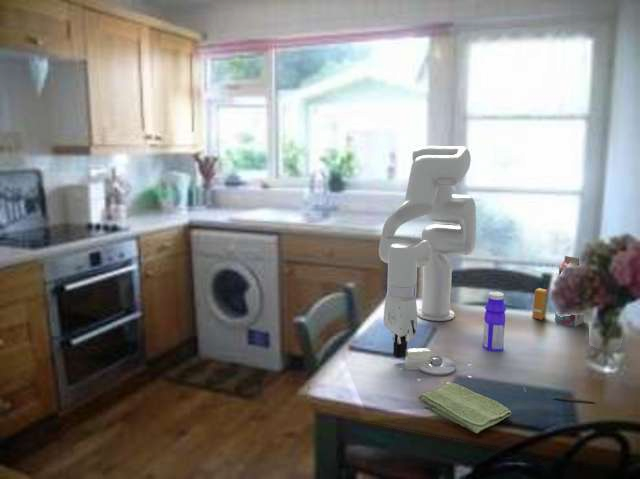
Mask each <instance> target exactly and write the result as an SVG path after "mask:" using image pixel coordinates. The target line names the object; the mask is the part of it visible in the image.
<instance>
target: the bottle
mask: <svg viewBox="0 0 640 479" xmlns="http://www.w3.org/2000/svg"><path fill="white" fill-rule="evenodd" d="M504 296H505V294H504V293H503V292H500V291H490V292H489V293H488V300H487V302H486V304H485V306H484V309H485V312H484V316H483V317H484V325H483V326H484V327H483V338H482V339H483V342H482V347H483V349H485V350H486V351H489V352H498V353H499V352H502V351H504V348H505V347H504V343H505V342H504V341H505V340H504V339H505V324H506V313H505V312H506V311H507V308H506V306H505V300H504V298H505V297H504Z"/></svg>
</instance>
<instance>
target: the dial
mask: <svg viewBox="0 0 640 479" xmlns="http://www.w3.org/2000/svg"><path fill="white" fill-rule="evenodd" d="M404 359H405V360H404V368H405V370H406V371H416V370H417V371H418V370H419V371H420V372H422V373H424V374H426V375H432V376H447V375H451V374H453V373H454V372H455V370H456V363H455V362H454V361H453V360H452V359H450V358H447V357H445V356H441V355H431V350H430V349H429V348H428V347H424V348H422V347H421V348H407V349H406V350H405V357H404Z"/></svg>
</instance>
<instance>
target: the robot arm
mask: <svg viewBox="0 0 640 479" xmlns="http://www.w3.org/2000/svg"><path fill="white" fill-rule="evenodd" d="M471 158H472V157H471V153H470V151H469V149H468V148H467V147H465V146H452V145H451V146H447V145H446V146H445V145H444V146H442V145H440V146H439V145H425V146H419V147H416V148H415V149H414V150H413V152H412V157H411V159H412V164H411V168H410V173H409V177H408V182H407V187H406V193H405V197H404V198H405V199H404V201H403V203H402V204H401V205H399V206H398V207H397V208H396V209H395V210H393V211H392V212H391V214H389V216H388V217H387V219H386V220H385V222H384V224H383V227H382V231H381V236H380V240H379V246H378V255H379V258H380V260H381V261H382V262H384V263H385V264H387V292H386V295H385V299H384V300H385V301H384V307H383V326H384V327H385V328H386V329H387V330H389V331H390V332H391V334H392V341H393V352H392V353H393V354H392V355H393V356H394V357H395V358H396V359H398V358H405V350H406V349H408V343H409V342H412V341H414V335H416V334H417V330H418V317H420V318H421V319H423V320H427V321H433V322H446V321H450V320H453V319H455V312H454V311H453V310H452V309H451V295H452V291H451V290H452V276H453V275H452V274H453V267H452V263H451V261H450V259H449V258H448V257H447V255H453V256H454V255H455V256H469V255H471V254H472V253H473V252H474V250H475V247H476V228H477V227H476V225H477V224H476V223H477V220H476V219H477V218H476V217H477V209H476V208H477V207H476V202H475V200H474V198H473V197H472V196H470V195H468V194H453V186H455V187H456V186H458V185H459V184H461V183H462V182H463V180H464V178H465V177H466V175H467V173H468V171H469V169H470V166H471ZM425 215H426V216H425ZM423 216H425V217H426V219H427V220H428V221H430V222H432V223H437V224H430V225H427V226H425V227H424V228H423V230H422V232H421V238H413V237H403V236H395V234H396V232H397V230H398V229H399V228H400V227H401V226H403V225H404V224H405V223H407V222H409V221H412V220H414V219H418V218H420V217H423ZM446 224H447V225H446ZM448 224H449V225H448ZM450 224H451V225H450ZM418 268H422V291H421V292H422V293H421V298H422V299H421V307H420V308H418V307H417V299H416V297H417V281H418V280H417V279H418V278H417V276H418ZM417 308H418V309H417Z"/></svg>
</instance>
